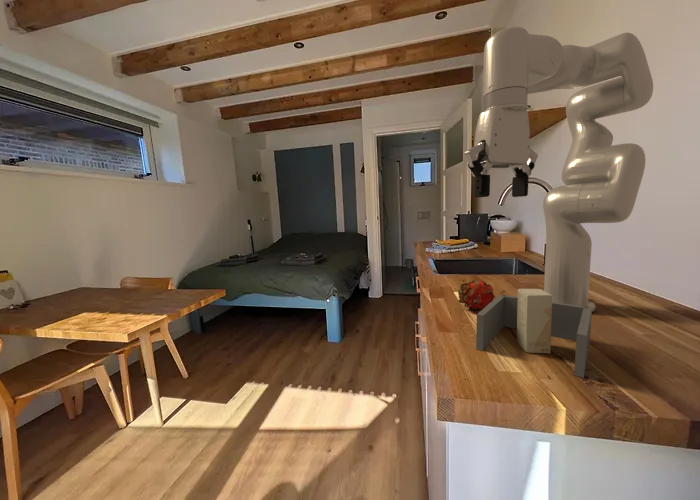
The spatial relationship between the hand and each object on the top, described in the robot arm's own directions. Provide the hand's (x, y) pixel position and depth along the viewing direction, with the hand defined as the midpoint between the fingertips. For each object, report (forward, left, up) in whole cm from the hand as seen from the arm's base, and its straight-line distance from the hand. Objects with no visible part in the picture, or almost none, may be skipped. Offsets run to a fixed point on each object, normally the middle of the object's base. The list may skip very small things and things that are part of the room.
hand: (501, 196), depth 58 cm
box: (+1, +6, -29) cm, 30 cm away
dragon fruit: (-16, -10, -29) cm, 35 cm away
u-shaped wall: (0, +6, -29) cm, 30 cm away
